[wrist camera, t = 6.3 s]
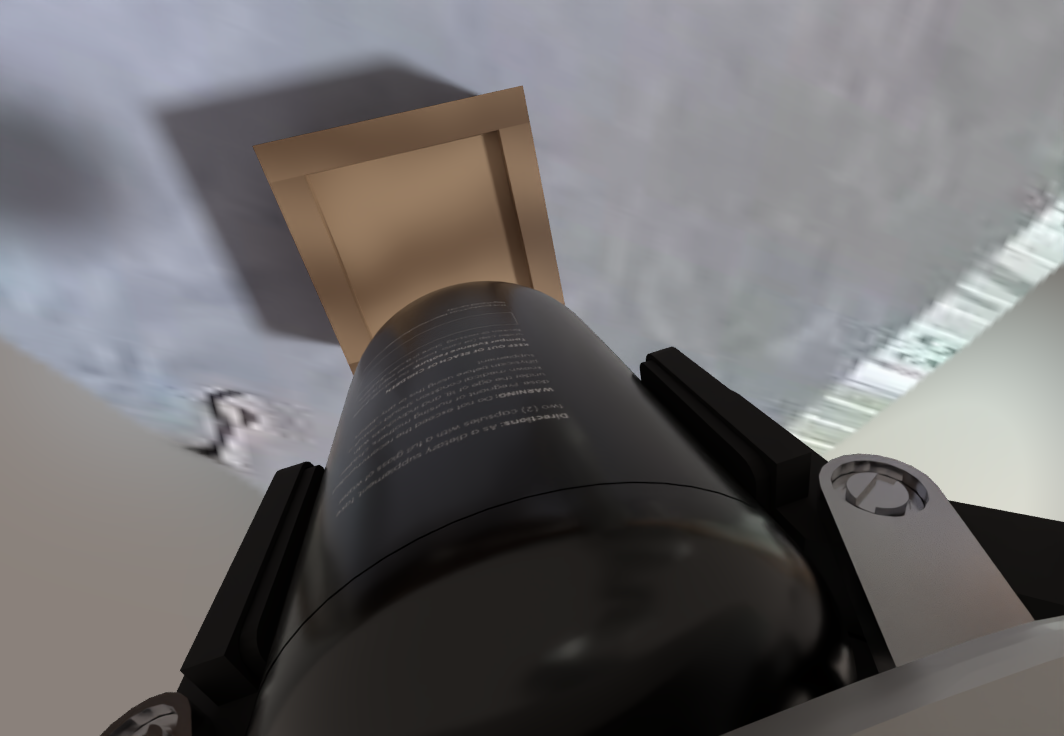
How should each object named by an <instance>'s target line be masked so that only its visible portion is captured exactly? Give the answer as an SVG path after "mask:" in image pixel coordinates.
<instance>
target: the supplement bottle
mask: <svg viewBox="0 0 1064 736" xmlns="http://www.w3.org/2000/svg"><path fill="white" fill-rule="evenodd" d="M855 682H857V671H856V665H855V659H854V654H853V650H852V646H851V642H850V638H849V634H848V631H847V627H846V624H845V622H844V619H843V616H842V613H841V611H840V609H839V606H838V604H837V602H836V600H835V598H834V595H833V593H832V591H831V589H830V587H829V585H828V583H827V582H826V580H825V578H824V577H823V575H822V574H821V573H820V571H819V570H818V568H817V567H816V566H815V564H814V563H813V562H812V560H811V559H810V558H809V557H808V556H807V554H806V553H805V552H804V551H803V550H802V549H801V547H800V546H799V545H798V544H797V543H796V542H795V541H794V540H793V539H792V538H791V537H790V536H789V535H788V533H787V532H786V531H785V529H784V528H783V527H782V526H781V525H780V524H779V523H778V522H777V521H776V520H775V519H774V518H773V517H772V516H771V515H770V514H769V512H768V511H767V510H766V509H765V508H764V507H763V506H762V505H761V504H760V503H759V502H758V501H757V500H756V499H755V498H754V497H753V496H752V495H751V494H750V493H749V492H748V491H747V490H746V489H745V488H744V487H743V486H742V485H741V484H740V482H739V481H738V480H737V479H736V478H735V477H734V476H733V475H732V474H731V473H730V472H729V471H728V470H727V469H726V468H725V467H724V466H723V465H722V464H721V463H720V462H719V461H718V460H717V459H716V458H715V457H714V456H713V455H712V454H711V453H710V451H709V450H708V449H707V448H706V447H705V446H704V445H703V444H702V443H701V442H700V441H699V440H698V439H697V438H696V437H695V436H694V435H693V434H692V433H691V432H690V431H689V430H688V429H687V428H686V427H685V426H684V425H683V424H682V423H681V422H680V420H679V419H678V418H677V417H676V416H675V415H674V414H673V413H672V412H671V411H670V410H669V409H668V408H667V407H666V406H665V405H664V404H663V403H662V402H661V401H660V400H659V399H658V398H657V397H656V396H655V395H654V394H653V393H652V392H651V391H650V390H649V388H648V387H647V386H646V385H645V384H644V383H643V382H642V381H641V380H640V379H639V378H638V377H637V376H636V375H635V374H634V373H633V372H632V371H631V370H630V369H629V368H628V367H627V366H626V365H625V364H624V363H623V362H622V361H621V360H620V359H619V357H618V356H617V355H616V354H615V353H614V352H613V351H612V350H611V349H610V348H609V347H608V346H607V345H606V344H605V343H604V342H603V341H602V340H601V339H600V338H599V337H598V336H597V335H596V334H595V333H594V332H593V331H592V330H591V329H590V328H589V327H588V326H587V325H586V324H585V323H584V322H583V321H582V320H581V319H580V318H579V317H578V316H577V315H576V314H575V313H574V312H572V311H571V310H570V309H569V308H567V307H566V306H565V305H563V304H562V303H560V302H559V301H557V300H556V299H554V298H552V297H551V296H549V295H547V294H545V293H543V292H541V291H538V290H535V289H532V288H530V287H526V286H523V285H519V284H514V283H508V282H500V281H474V282H467V283H460V284H456V285H452V286H448V287H445V288H442V289H439V290H436V291H433V292H431V293H429V294H426V295H424V296H422V297H420V298H418V299H416V300H415V301H413V302H411V303H410V304H408V305H407V306H405V307H404V308H402V309H401V310H400V311H398V312H397V313H396V314H395V315H393V316H392V317H391V318H390V319H389V320H388V321H387V322H386V323H385V324H384V325H383V326H382V327H381V328H380V329H379V330H378V332H377V333H376V334H375V336H374V337H373V338H372V340H371V341H370V342H369V344H368V346H367V348H366V349H365V351H364V353H363V355H362V357H361V359H360V361H359V363H358V366H357V368H356V370H355V373H354V376H353V379H352V382H351V385H350V388H349V391H348V394H347V398H346V401H345V404H344V407H343V411H342V414H341V417H340V421H339V424H338V427H337V431H336V434H335V437H334V441H333V444H332V447H331V451H330V454H329V457H328V461H327V464H326V467H325V471H324V474H323V477H322V481H321V484H320V487H319V491H318V494H317V497H316V500H315V504H314V507H313V510H312V514H311V517H310V520H309V524H308V527H307V530H306V534H305V537H304V540H303V544H302V547H301V550H300V554H299V557H298V560H297V564H296V567H295V570H294V574H293V577H292V580H291V584H290V587H289V590H288V593H287V597H286V600H285V603H284V607H283V610H282V613H281V617H280V620H279V623H278V627H277V630H276V633H275V637H274V640H273V643H272V647H271V650H270V653H269V657H268V660H267V664H266V667H265V670H264V674H263V677H262V680H261V684H260V687H259V690H258V694H257V697H256V701H255V704H254V708H253V711H252V719H251V722H250V726H249V729H248V733H247V736H720V735H723V734H725V733H728V732H730V731H733V730H735V729H738V728H741V727H743V726H746V725H748V724H751V723H753V722H756V721H758V720H761V719H763V718H766V717H769V716H771V715H774V714H776V713H779V712H781V711H784V710H786V709H789V708H792V707H794V706H797V705H799V704H802V703H804V702H807V701H809V700H812V699H815V698H817V697H820V696H822V695H825V694H827V693H830V692H832V691H835V690H837V689H840V688H843V687H845V686H848V685H850V684H853V683H855Z"/></svg>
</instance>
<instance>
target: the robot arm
mask: <svg viewBox="0 0 1064 736" xmlns="http://www.w3.org/2000/svg"><path fill="white" fill-rule="evenodd" d="M640 375H641V381H642V382H643V383H644V384H645V385H646V386H647V387H648V388H649V390H650V391H651V392H652V393H653V394H654V395H655V396H656V397H657V398H658V399H659V400H660V401H661V402H662V403H663V404H664V405H665V406H666V407H667V408H668V409H669V410H670V411H671V412H672V413H673V414H674V415H675V416H676V417H677V418H678V419H679V420H680V422H681V423H682V424H683V425H684V426H685V427H686V428H687V429H688V430H689V431H690V432H691V433H692V434H693V435H694V436H695V437H696V438H697V439H698V440H699V441H700V442H701V443H702V444H703V445H704V446H705V447H706V448H707V449H708V450H709V451H710V453H711V454H712V455H713V456H714V457H715V458H716V459H717V460H718V461H719V462H720V463H721V464H722V465H723V466H724V467H725V468H726V469H727V470H728V471H729V472H730V473H731V474H732V475H733V476H734V477H735V478H736V479H737V480H738V481H739V482H740V484H741V485H742V486H743V487H744V488H745V489H746V490H747V491H748V492H749V493H750V494H751V495H752V496H753V497H754V498H755V499H756V500H757V501H758V502H759V503H760V504H761V505H762V506H763V507H764V508H765V509H766V510H767V511H768V512H769V514H770V515H771V516H772V517H773V518H774V519H775V520H776V521H777V522H778V523H779V524H780V525H781V526H782V527H783V528H784V529H785V531H786V532H787V533H788V535H789V536H790V537H791V538H792V539H793V540H794V541H795V542H796V543H797V544H798V545H799V546H800V547H801V549H802V550H803V551H804V552H805V553H806V554H807V556H808V557H809V558H810V559H811V560H812V562H813V563H814V564H815V566H816V567H817V568H818V570H819V571H820V573H821V574H822V575H823V577H824V578H825V580H826V582H827V583H828V585H829V587H830V589H831V591H832V593H833V595H834V598H835V600H836V602H837V604H838V606H839V609H840V611H841V613H842V616H843V619H844V622H845V624H846V627H847V631H848V634H849V638H850V642H851V646H852V650H853V654H854V659H855V665H856V671H857V682H855V683H853V684H850V685H848V686H845V687H843V688H840V689H837V690H835V691H832V692H830V693H827V694H825V695H822V696H820V697H817V698H815V699H812V700H809V701H807V702H804V703H802V704H799V705H797V706H794V707H792V708H789V709H786V710H784V711H781V712H779V713H776V714H774V715H771V716H769V717H766V718H763V719H761V720H758V721H756V722H753V723H751V724H748V725H746V726H743V727H741V728H738V729H735V730H733V731H730V732H728V733H725V734H723V735H720V736H1064V522H1061V521H1055V520H1050V519H1045V518H1040V517H1034V516H1029V515H1024V514H1018V513H1013V512H1007V511H1002V510H997V509H992V508H986V507H981V506H976V505H970V504H965V503H959V502H954V501H949V500H947V498H946V497H945V495H944V494H943V493H942V491H941V490H940V488H939V487H938V486H937V485H936V484H935V483H934V482H933V481H932V480H931V479H930V478H929V477H928V476H927V475H926V474H924V473H922V472H921V471H919V470H918V469H916V468H914V467H913V466H911V465H908V464H905V463H903V462H901V461H898V460H895V459H892V458H888V457H883V456H879V455H870V454H852V455H843V456H840V457H838V458H835V459H832V460H830V461H829V462H828V461H826V460H825V459H824V458H823V457H821V456H820V455H819V454H817V453H816V452H815V451H813V450H812V449H811V448H809V447H808V446H807V445H805V444H804V443H803V442H801V441H800V440H799V439H797V438H796V437H795V436H793V435H792V434H791V433H790V432H788V431H787V430H786V429H784V428H783V427H782V426H780V425H779V424H778V423H776V422H775V421H774V420H772V419H771V418H770V417H768V416H767V415H766V414H764V413H763V412H762V411H760V410H759V409H758V408H756V407H755V406H754V405H752V404H751V403H750V402H749V401H747V400H746V399H745V398H743V397H742V396H741V395H739V394H738V393H736V392H734V391H731V390H730V389H729V388H727V387H726V386H725V385H723V384H722V383H721V382H719V381H718V380H717V379H715V378H714V377H713V376H712V375H710V374H709V373H708V372H706V371H705V370H704V369H702V368H701V367H700V366H698V365H697V364H696V363H694V362H693V361H692V360H691V359H689V358H688V357H687V356H685V355H684V354H683V353H681V352H680V351H679V350H677V349H676V348H674V347H669V348H666V349H662V350H659V351H656V352H653V353H650V354H648V355H647V356H646V362H643V363H641V364H640ZM324 471H325V470H324V468H323V467H322V466H320V465H317V466H314V465H313V464H311V463H310V462H303V463H300V464H297V465H294V466H291V467H287V468H284V469H281V470H279V471H277V472H276V474H275V475H274V478H273V480H272V482H271V484H270V486H269V488H268V490H267V492H266V494H265V496H264V498H263V500H262V502H261V505H260V506H259V509H258V511H257V513H256V515H255V517H254V519H253V521H252V523H251V525H250V527H249V529H248V531H247V533H246V535H245V537H244V539H243V542H242V544H241V546H240V548H239V550H238V552H237V554H236V556H235V558H234V560H233V562H232V564H231V566H230V568H229V571H228V572H227V575H226V577H225V579H224V581H223V583H222V585H221V587H220V589H219V591H218V593H217V595H216V597H215V599H214V601H213V604H212V605H211V608H210V610H209V612H208V614H207V616H206V618H205V620H204V622H203V624H202V626H201V628H200V630H199V632H198V635H197V636H196V639H195V641H194V643H193V645H192V647H191V649H190V651H189V653H188V655H187V657H186V659H185V661H184V663H183V665H182V668H181V669H180V671H181V672H182V673H183V674H184V677H183V679H182V681H181V684H180V686H179V688H178V690H177V692H165V693H162V694H159V695H156V696H154V697H151V698H149V699H147V700H145V701H143V702H142V703H140V704H138V705H136V706H135V707H133V708H131V709H130V710H129V711H128V712H126V713H125V714H124V715H122V716H121V717H120V718H118V719H117V720H116V721H115V722H113V723H112V724H111V725H110V726H109V727H108V728H107V729H106V730H105V731H104V732H103V733H102V734H101V735H100V736H247V733H248V729H249V726H250V722H251V719H252V711H253V708H254V704H255V701H256V697H257V694H258V690H259V687H260V684H261V680H262V677H263V674H264V670H265V667H266V664H267V660H268V657H269V653H270V650H271V647H272V643H273V640H274V637H275V633H276V630H277V627H278V623H279V620H280V617H281V613H282V610H283V607H284V603H285V600H286V597H287V593H288V590H289V587H290V584H291V580H292V577H293V574H294V570H295V567H296V564H297V560H298V557H299V554H300V550H301V547H302V544H303V540H304V537H305V534H306V530H307V527H308V524H309V520H310V517H311V514H312V510H313V507H314V504H315V500H316V497H317V494H318V491H319V487H320V484H321V481H322V477H323V474H324Z"/></svg>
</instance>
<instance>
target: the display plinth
mask: <svg viewBox="0 0 1064 736" xmlns="http://www.w3.org/2000/svg"><path fill="white" fill-rule="evenodd" d="M253 148H254V151H255V153H256V155H257V157H258V160H259V162H260V164H261V166H262V169H263V171H264V173H265V175H266V178H267V180H268V182H269V185H270V187H271V189H272V191H273V194H274V196H275V198H276V200H277V203H278V205H279V207H280V210H281V212H282V214H283V216H284V219H285V221H286V223H287V225H288V228H289V230H290V232H291V235H292V237H293V239H294V241H295V244H296V246H297V248H298V250H299V253H300V255H301V257H302V260H303V262H304V264H305V266H306V269H307V271H308V273H309V275H310V278H311V280H312V282H313V285H314V287H315V289H316V291H317V294H318V296H319V298H320V300H321V303H322V305H323V307H324V310H325V312H326V314H327V316H328V319H329V321H330V323H331V325H332V328H333V330H334V332H335V334H336V337H337V339H338V341H339V344H340V346H341V348H342V350H343V353H344V355H345V357H346V359H347V362H348V364H349V366H350V369H351V371H352V373H353V375H354V373H355V370H356V368H357V366H358V363H359V361H360V359H361V357H362V355H363V353H364V351H365V349H366V348H367V346H368V344H369V342H370V341H371V340H372V338H373V337H374V336H375V334H376V333H377V332H378V330H379V329H380V328H381V327H382V326H383V325H384V324H385V323H386V322H387V321H388V320H389V319H390V318H391V317H392V316H393V315H395V314H396V313H397V312H398V311H400V310H401V309H402V308H404V307H405V306H407V305H408V304H410V303H411V302H413V301H415V300H416V299H418V298H420V297H422V296H424V295H426V294H429V293H431V292H433V291H436V290H439V289H442V288H445V287H448V286H452V285H456V284H460V283H467V282H474V281H500V282H508V283H514V284H519V285H523V286H526V287H530V288H532V289H535V290H538V291H541V292H543V293H545V294H547V295H549V296H551V297H552V298H554V299H556V300H557V301H559V302H560V303H562V304H563V305H565V303H564V298H563V293H562V288H561V283H560V277H559V272H558V267H557V262H556V257H555V251H554V246H553V241H552V236H551V230H550V225H549V220H548V215H547V210H546V204H545V199H544V194H543V189H542V184H541V178H540V173H539V168H538V163H537V158H536V152H535V147H534V142H533V137H532V132H531V126H530V121H529V116H528V111H527V106H526V100H525V95H524V90H523V86H518V87H514V88H509V89H505V90H500V91H496V92H492V93H487V94H483V95H478V96H474V97H469V98H465V99H460V100H456V101H451V102H447V103H442V104H438V105H433V106H429V107H424V108H420V109H415V110H411V111H406V112H402V113H397V114H393V115H389V116H384V117H380V118H375V119H371V120H366V121H362V122H357V123H353V124H348V125H344V126H339V127H335V128H330V129H326V130H321V131H317V132H312V133H308V134H303V135H299V136H294V137H290V138H286V139H281V140H277V141H272V142H268V143H263V144H259V145H254V146H253Z"/></svg>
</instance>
